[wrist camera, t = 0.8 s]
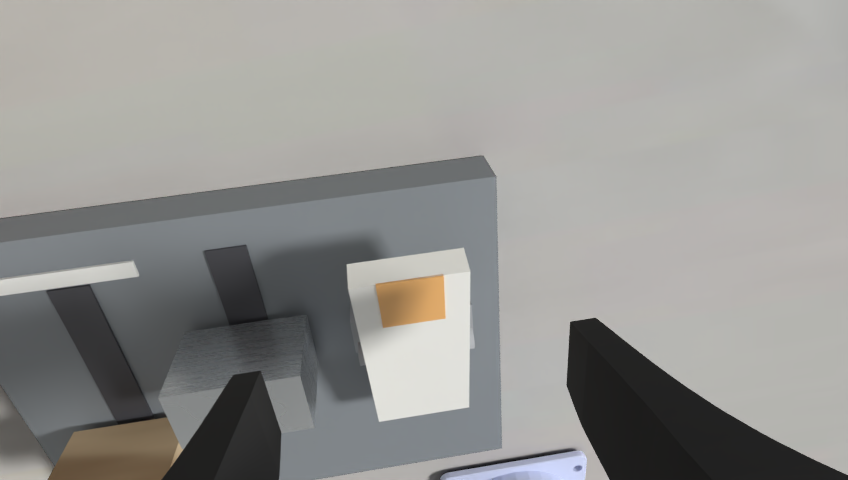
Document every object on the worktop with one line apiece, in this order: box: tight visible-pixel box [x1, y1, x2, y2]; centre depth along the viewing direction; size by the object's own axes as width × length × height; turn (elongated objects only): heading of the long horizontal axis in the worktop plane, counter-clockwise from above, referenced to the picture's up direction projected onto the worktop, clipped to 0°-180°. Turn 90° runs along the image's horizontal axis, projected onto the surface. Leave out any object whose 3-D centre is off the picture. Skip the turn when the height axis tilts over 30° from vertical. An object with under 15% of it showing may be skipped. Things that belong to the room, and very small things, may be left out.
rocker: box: [347, 248, 475, 422], centre depth 19 cm, size 8×4×1 cm, turn 6°
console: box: [0, 156, 502, 480], centre depth 22 cm, size 14×19×3 cm
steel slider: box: [158, 314, 319, 449], centre depth 19 cm, size 2×4×3 cm, turn 95°
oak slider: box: [48, 417, 183, 480], centre depth 20 cm, size 2×4×3 cm, turn 95°
